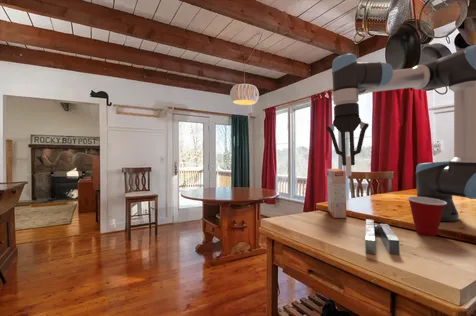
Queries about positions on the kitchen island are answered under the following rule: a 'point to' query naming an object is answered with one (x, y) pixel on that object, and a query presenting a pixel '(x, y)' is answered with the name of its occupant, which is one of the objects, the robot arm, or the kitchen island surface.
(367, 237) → the bar
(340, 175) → the cracker box
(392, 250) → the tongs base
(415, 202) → the plastic cup
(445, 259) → the kitchen island surface
